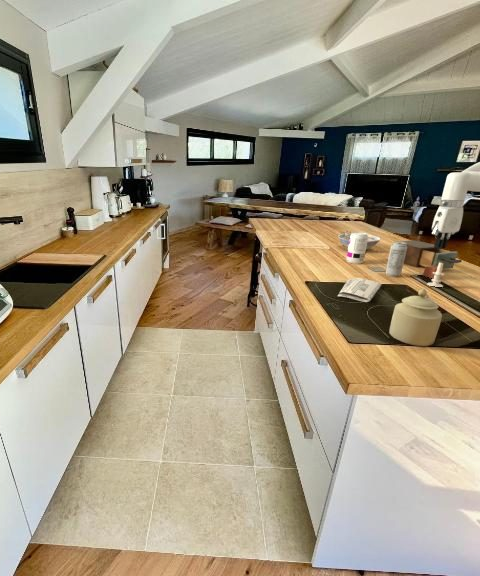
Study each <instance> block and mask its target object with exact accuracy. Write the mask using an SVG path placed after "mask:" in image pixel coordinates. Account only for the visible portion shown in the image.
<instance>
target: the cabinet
mask: <svg viewBox="0 0 480 576" xmlns="http://www.w3.org/2000/svg"><path fill="white" fill-rule="evenodd" d="M399 242H405V243H407V244H406V245H407V251H406V255H405V260H404V264H405V265H407V266H410V267H413V268H414V267H415V268H420V267H423V266H422V265H418V262H419V258H420V254H421V250H422V249H433V248H434V245H435V243H434V244H433V243H428V242H424V241H420V240H415V239H413V240H402V241H401V240H400V241H399ZM404 264H403V265H404Z"/></svg>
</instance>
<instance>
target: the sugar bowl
mask: <svg viewBox="0 0 480 576" xmlns="http://www.w3.org/2000/svg"><path fill="white" fill-rule="evenodd" d="M427 292H428V291H427V289H425V288H421V289H419V291H418V292H417V295H410V296H407V297H404V298H402V299H401V302H399V303H397V304H396V305H395V306H394V309H393V313H392V317H391V321H390V326H389V330H388V331H389V332H388V333H389V335H390V336H391V337H392V338H393V339H394V340H397V341H399V342H401V343H404V344H407V345H411V346H415V347H416V346H417V347H429V346H432V345H433V344H434V343H435V341H436V337H437V335H438V331H439V329H440V325H441V322H442V318H443V314H442V312H441V311H439V310H438V309H439V307H440V306H439V304H438V303H436V302H435V301H434V300H433V299H431V298H429V294H428V293H427Z"/></svg>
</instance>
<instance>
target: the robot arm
mask: <svg viewBox="0 0 480 576" xmlns="http://www.w3.org/2000/svg"><path fill="white" fill-rule="evenodd" d="M445 179H446V180H445V183H444V187H443V191H442V195H441V199H440V202H439V207H438V209H437V211H436V213H435V215H434V218H433V221H432V225H431V231H432V232H431V235H433V236H434V238H435V242H434V248H438V249H442V250H446V247H447V243H448V240H450V237H451V236H452V235H454V234H456V233H458V232H459V231H460V229H461V226H462V225H461V224H462V221H463V217H464V204H465V200H466V197H467V193H468V192H479V193H480V161H478V162H477V163H474V164H473V165H471V166H469V167H468V168H466V169H464V170H463V171H457V172H455V171H454V172H450V173H449V174H447V176H446V178H445Z"/></svg>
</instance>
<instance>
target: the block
mask: <svg viewBox="0 0 480 576" xmlns="http://www.w3.org/2000/svg"><path fill="white" fill-rule="evenodd" d="M437 268H438V267H437V266H434V265H433V266H424V270H423V272H422V273H423V274H422V277H424V276H425V278H427V277H429V278H428V279H431V278H432V279H434V276H435V274H433V272H436V271H437ZM443 270H444V269H443V268H442V272H441V273H443V272H444V271H443ZM432 279H431V280H432Z"/></svg>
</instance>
